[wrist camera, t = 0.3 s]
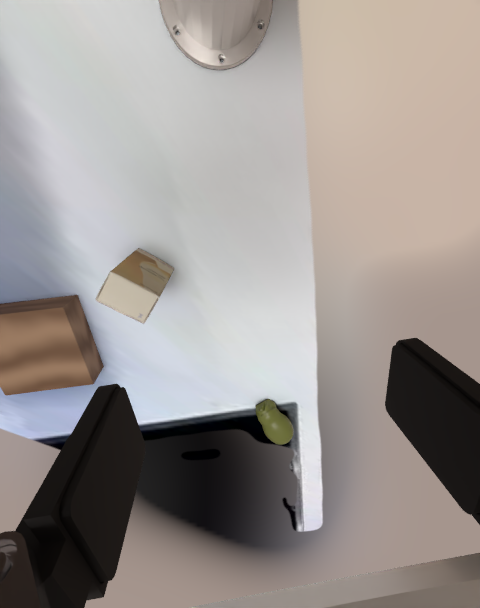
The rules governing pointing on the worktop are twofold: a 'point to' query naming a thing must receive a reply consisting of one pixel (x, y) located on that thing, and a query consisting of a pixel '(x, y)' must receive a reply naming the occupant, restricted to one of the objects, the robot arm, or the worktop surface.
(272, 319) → the worktop surface
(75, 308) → the walnut block
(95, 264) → the worktop surface
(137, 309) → the skincare box
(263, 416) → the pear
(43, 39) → the worktop surface
